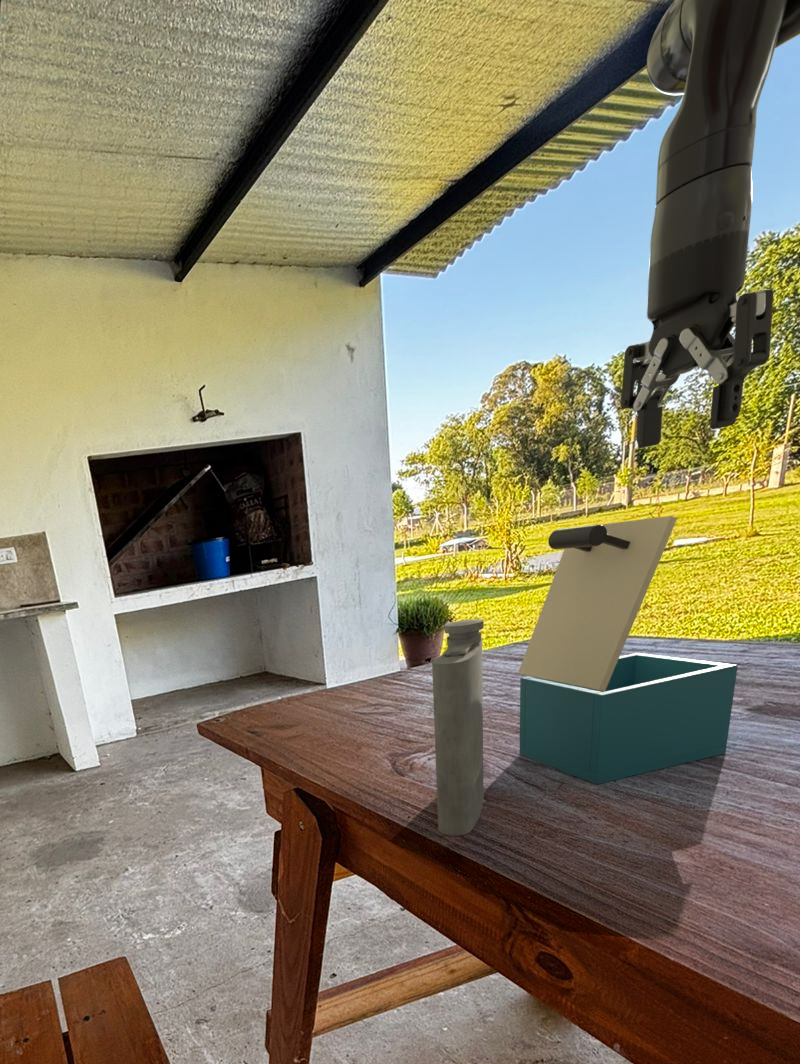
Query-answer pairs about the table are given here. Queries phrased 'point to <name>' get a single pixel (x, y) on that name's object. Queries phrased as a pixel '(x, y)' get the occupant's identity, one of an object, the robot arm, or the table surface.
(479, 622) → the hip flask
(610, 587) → the lid
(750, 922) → the table surface
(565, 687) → the box
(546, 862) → the table surface
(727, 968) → the table surface
